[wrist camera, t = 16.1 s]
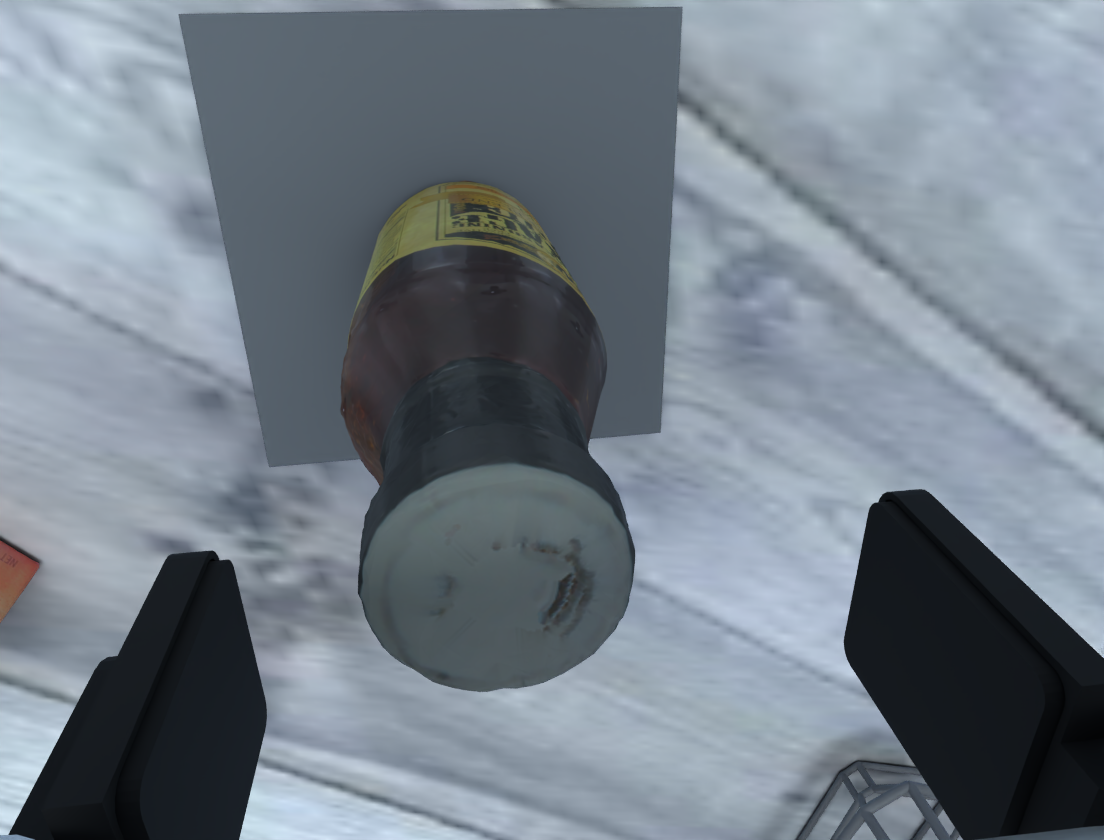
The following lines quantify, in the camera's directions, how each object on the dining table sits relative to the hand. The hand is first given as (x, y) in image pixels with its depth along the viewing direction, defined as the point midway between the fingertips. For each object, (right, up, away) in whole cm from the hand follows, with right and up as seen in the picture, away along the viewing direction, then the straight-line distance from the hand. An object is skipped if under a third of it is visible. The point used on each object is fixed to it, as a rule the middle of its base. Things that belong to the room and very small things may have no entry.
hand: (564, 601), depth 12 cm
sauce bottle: (-4, +9, +18) cm, 20 cm away
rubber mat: (-4, +9, +18) cm, 20 cm away
